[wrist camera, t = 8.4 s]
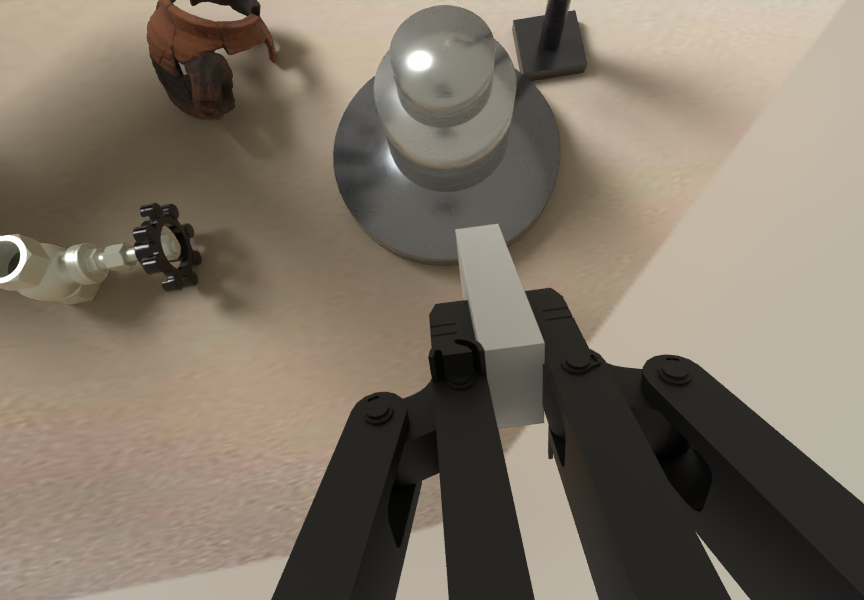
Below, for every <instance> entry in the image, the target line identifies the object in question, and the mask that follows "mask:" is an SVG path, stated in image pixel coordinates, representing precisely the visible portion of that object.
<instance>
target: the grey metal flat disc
mask: <svg viewBox="0 0 864 600" xmlns="http://www.w3.org/2000/svg"><path fill="white" fill-rule="evenodd" d="M514 69H515V68H514ZM515 74H516V85H517V86H516V95H515V101H514V107H513V113H512V119H511V126H510V132H509V138H508V144H507V148H506V152H505V154H504V157H503V159H502V161H501V163H500V164H499V166H498V167H497V168H496V170H495V171H494V172H493V173H492V174H491V175H490V176H489V177H487V178H486V179H485V180H483V181H482V182H480V183H479V184H477V185H475V186H473V187H470V188H468V189H464V190H460V191H454V192H439V191H433V190H429V189H426V188H423V187H420V186H419V185H417V184H415V183H413V182H412V181H410V180H409V179H408V178H406V177H405V176H404V175H403V174H402V173H401V171H400V170H399V169H398V168H397V166H396V164H395V163H394V161H393V158H392V156H391V153H390V149H389V146H388V143H387V140H386V136H385V133H384V130H383V127H382V123H381V120H380V117H379V114H378V110H377V107H376V103H375V99H374V80H375V76H374V77H373V78H372V79H370V80H369V81H368V82H367V83H366V84H365V85H364V86H363V87H362V88H361V89H360V90H359V91H358V93H357V94H356V95H355V97H354V98H353V99H352V101H351V102H350V104H349V105H348V107H347V109H346V110H345V112H344V114H343V116H342V119H341V121H340V124H339V126H338V130H337V134H336V137H335V144H334V152H333V155H334V171H335V177H336V181H337V184H338V188H339V191H340V193H341V195H342V197H343V200H344V202H345V204H346V205H347V207H348V209H349V210H350V212H351V214H352V215H353V217H354V218H355V220H356V221H357V223H358V224H359V226H360V227H361V228H362V229H363V230H364V231H365V232H366V233H367V235H368V236H369V237H371V238H372V239H373V240H374V241H375V242H377V243H378V244H379V245H380V246H382V247H384V248H385V249H387V250H388V251H390V252H392V253H394V254H396V255H398V256H400V257H402V258H405V259H408V260H412V261H415V262H419V263H424V264H430V265H445V266H446V265H459V260H458V251H457V242H456V233H455V229H463V228H470V227H477V226H485V225H492V224H498V225H499V227H500V230H501V232H502V235H503V238H504V240H505V243H506V245H507V247H508V246H510V245H511V244H513V243H514V242H515V241H517V240H518V239H519V238H520V237H521V236H522V235H524V234H525V233H526V232H527V231H528V229H529V228H530V227H531V226H532V225H533V224H534V223H535V221H536V220H537V218H538V217H539V215H540V214H541V212H542V211H543V209H544V207H545V205H546V203H547V201H548V199H549V196H550V194H551V191H552V189H553V186H554V183H555V180H556V177H557V174H558V169H559V163H560V139H559V131H558V128H557V124H556V120H555V117H554V115H553V113H552V111H551V108H550V106H549V105H548V103H547V101H546V100H545V98H544V96H543V95H542V94H541V92H540V91H539V90H538V89H537V88H536V86H535V85H534V84H533V83H532V82H531V81H530V80H529V79H528V78H526V77H525V76H524V75H523V74H522V73H520V72H519V71H517V70H516V69H515Z"/></svg>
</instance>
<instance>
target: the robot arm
mask: <svg viewBox="0 0 864 600" xmlns="http://www.w3.org/2000/svg"><path fill="white" fill-rule="evenodd" d="M455 233H456V242H457V251H458V260H459V269H460V278H461V288H462V296H463V301H456V302H448V303H440V304H435V306H434V307H433V309H432V311H431V313H430V315H429V318H430V332H431V345H432V348H431V350H430V352H429V357H428V358H429V364H430V370H431V376H432V379H431V381H430V382H429V384H428V385H427V386H426V387H425V388H424V389H422V390H421V391H420V392H418V393H416V394H414V395H412V396H409V397H407V398H404V399H402V398H401V397H399V396H398V395H396V394H394V393H389V392H378V393H373V394H371V395H368V396H366V397H364V398H363V399H361V400H360V401H359V402H358V403H357V404H356V405H355V406H354V408H353V409H352V411H351V413H350V416H349V418H348V420H347V423H346V425H345V427H344V430H343V432H342V434H341V437H340V439H339V441H338V444H337V446H336V449H335V451H334V453H333V456H332V458H331V460H330V463H329V465H328V467H327V470H326V472H325V474H324V477H323V479H322V481H321V484H320V486H319V489H318V491H317V493H316V496H315V498H314V500H313V503H312V505H311V507H310V510H309V512H308V514H307V517H306V519H305V521H304V524H303V526H302V529H301V531H300V533H299V536H298V538H297V540H296V543H295V545H294V547H293V550H292V552H291V554H290V557H289V559H288V562H287V564H286V566H285V569H284V571H283V573H282V576H281V578H280V580H279V583H278V585H277V587H276V590H275V592H274V594H273V597H272V599H271V600H395V598H396V593H397V589H398V584H399V580H400V576H401V572H402V567H403V563H404V559H405V554H406V550H407V545H408V541H409V537H410V533H411V528H412V524H413V520H414V515H415V511H416V507H417V502H418V498H419V494H420V489H421V485H422V480H424V479H426V478H429V477H431V476H433V475H435V474H438V473H440V487H441V500H442V513H443V527H444V540H445V553H446V567H447V580H448V593H449V600H535V599H534V594H533V589H532V585H531V580H530V576H529V571H528V567H527V562H526V557H525V552H524V547H523V543H522V538H521V533H520V529H519V525H518V519H517V515H516V511H515V505H514V501H513V496H512V492H511V487H510V483H509V478H508V473H507V468H506V463H505V459H504V454H503V449H502V445H501V440H500V435H499V431H498V429H499V428H507V427H515V426H523V425H531V424H539V423H544V411H545V414H546V418H547V420H548V424H549V431H548V433H549V435H548V455H549V459H552V458H553V454H554V458H555V461H556V464H557V467H558V470H559V473H560V476H561V480H562V483H563V486H564V489H565V493H566V496H567V499H568V502H569V505H570V509H571V512H572V515H573V518H574V521H575V525H576V528H577V531H578V534H579V537H580V540H581V543H582V547H583V550H584V553H585V556H586V559H587V563H588V566H589V569H590V572H591V576H592V579H593V582H594V585H595V588H596V592H597V595H598V598H599V600H731V598H730V596H729V594H728V593H727V591H726V589H725V587H724V585H723V583H722V581H721V580H720V577H719V576H718V574H717V572H716V570H715V568H714V566H713V564H712V562H711V560H710V559H709V557H708V555H707V553H706V551H705V549H704V547H703V545H702V543H701V541H700V539H699V538H698V536H697V534H698V535H699V536H700V538H701V539H702V540H703V541H704V543H705V544H706V545H707V546H708V548H709V549H710V550H711V551H712V553H713V554H714V555H715V556H716V557H717V559H718V560H719V561H720V562H721V563H722V565H723V566H724V567H725V569H726V570H727V571H728V572H729V573H730V575H731V576H732V577H733V579H734V580H735V581H736V582H737V583H738V585H739V586H740V587H741V588H742V590H743V591H744V592H745V593H746V595H747V596H748V597H749V598H750V599H751V600H864V504H863V503H862V502H861V501H860V500H859V499H857V498H856V497H855V496H854V495H853V494H852V493H850V492H849V491H848V490H847V489H846V488H844V487H843V486H842V485H841V484H840V483H839V482H837V481H836V480H835V479H834V478H833V477H831V476H830V475H829V474H828V473H827V472H825V471H824V470H823V469H822V468H821V467H819V466H818V465H817V464H816V463H815V462H814V461H812V460H811V459H810V458H809V457H807V456H806V455H805V454H804V453H803V452H802V451H800V450H799V449H798V448H797V447H796V446H794V445H793V444H792V443H791V442H790V441H789V440H787V439H786V438H785V437H784V436H782V435H781V434H780V433H779V432H778V431H777V430H775V429H774V428H773V427H772V426H770V425H769V424H768V423H767V422H766V421H765V420H763V419H762V418H761V417H760V416H759V415H757V414H756V413H755V412H754V411H753V410H751V409H750V408H749V407H748V406H747V405H746V404H744V403H743V402H742V401H741V400H740V399H738V398H737V397H736V396H735V395H734V394H733V393H731V392H730V391H729V390H728V389H727V388H725V387H724V386H723V385H722V384H721V383H719V382H718V381H717V380H716V379H715V378H713V377H712V376H711V375H710V374H709V373H708V372H706V371H705V370H704V369H703V368H702V367H700V366H699V365H698V364H696V363H694V362H693V361H691V360H689V359H686V358H683V357H680V356H675V355H660V356H654V357H653V358H651V359H649V360H647V362H646V363H645V365H644V366H643V369H636V368H626V367H619V366H614V365H611V364H608V363H606V361H605V360H604V359H603V358H602V357H601V355H600V354H598V353H596V352H594V351H593V350H591V349H589V347H588V345H587V344H586V342H585V340H584V338H583V336H582V334H581V332H580V330H579V328H578V326H577V324H576V322H575V320H574V318H573V317H572V314H571V312H570V310H569V309H568V306H567V304H566V302H565V300H564V298H563V296H562V295H560V294H559V293H557V292H556V291H555V290H553V289H552V288H545V289H538V290H530V291H524V289H523V286H522V284H521V281H520V279H519V276H518V273H517V271H516V268H515V266H514V263H513V261H512V258H511V256H510V253H509V250H508V248H507V245H506V243H505V240H504V238H503V235H502V232H501V230H500V227H499V225H498V224H492V225H485V226H477V227H470V228H463V229H455ZM696 533H697V534H696Z"/></svg>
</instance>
